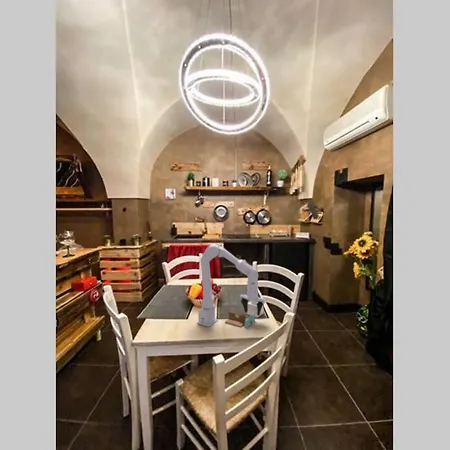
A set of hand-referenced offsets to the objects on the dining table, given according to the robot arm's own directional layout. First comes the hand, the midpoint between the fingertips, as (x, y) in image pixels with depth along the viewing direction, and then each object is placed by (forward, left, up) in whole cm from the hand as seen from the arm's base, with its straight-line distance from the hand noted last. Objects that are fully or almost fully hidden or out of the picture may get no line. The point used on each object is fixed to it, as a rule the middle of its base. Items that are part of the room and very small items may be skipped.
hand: (252, 313), depth 143 cm
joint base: (-4, +8, -5) cm, 10 cm away
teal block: (-3, 0, -5) cm, 6 cm away
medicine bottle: (+10, +3, -5) cm, 12 cm away
